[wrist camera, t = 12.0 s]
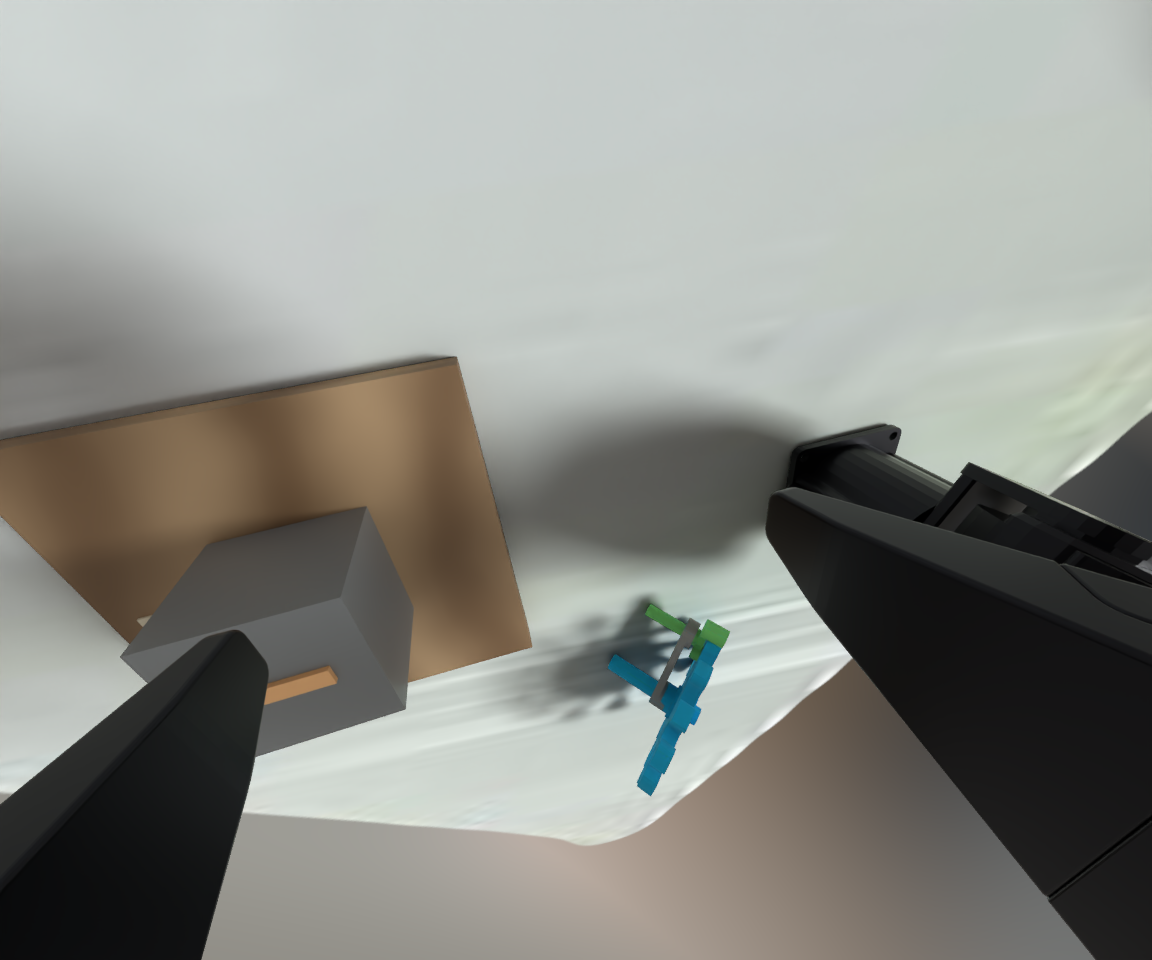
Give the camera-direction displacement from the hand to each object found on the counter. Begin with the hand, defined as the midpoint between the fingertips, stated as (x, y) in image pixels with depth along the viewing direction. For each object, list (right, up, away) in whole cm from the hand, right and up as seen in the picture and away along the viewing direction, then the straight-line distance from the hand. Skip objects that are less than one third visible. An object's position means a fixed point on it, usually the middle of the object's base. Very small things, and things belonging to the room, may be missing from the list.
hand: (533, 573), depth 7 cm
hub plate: (-11, -2, +12) cm, 17 cm away
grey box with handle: (-10, -3, +11) cm, 16 cm away
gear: (+6, -10, +22) cm, 25 cm away
